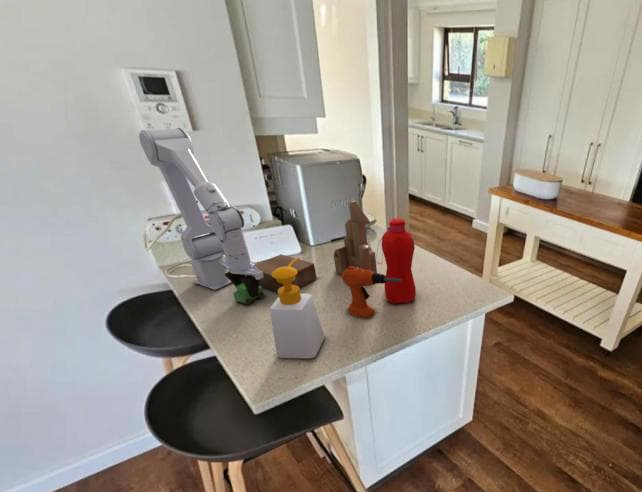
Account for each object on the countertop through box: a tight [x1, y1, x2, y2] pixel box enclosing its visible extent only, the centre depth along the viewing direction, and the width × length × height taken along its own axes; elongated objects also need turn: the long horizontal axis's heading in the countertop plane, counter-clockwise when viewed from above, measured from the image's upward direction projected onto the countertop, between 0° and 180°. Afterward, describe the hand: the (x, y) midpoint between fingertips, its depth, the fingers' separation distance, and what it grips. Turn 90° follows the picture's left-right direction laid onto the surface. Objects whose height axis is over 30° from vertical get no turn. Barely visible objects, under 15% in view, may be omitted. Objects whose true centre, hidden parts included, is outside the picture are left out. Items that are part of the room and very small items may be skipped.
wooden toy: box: [333, 200, 378, 276], centre depth 119 cm, size 16×7×25 cm, turn 57°
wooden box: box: [259, 265, 317, 293], centre depth 119 cm, size 13×15×5 cm
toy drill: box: [341, 266, 402, 319], centre depth 101 cm, size 5×19×15 cm, turn 71°
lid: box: [254, 254, 315, 278], centre depth 117 cm, size 13×15×1 cm
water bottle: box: [376, 217, 417, 304], centre depth 108 cm, size 9×11×25 cm
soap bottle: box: [269, 256, 326, 359], centre depth 88 cm, size 10×14×22 cm
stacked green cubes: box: [233, 283, 265, 306], centre depth 108 cm, size 7×4×5 cm, turn 155°
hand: (249, 294), depth 109 cm, fingers closed on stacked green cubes, 4 cm apart
